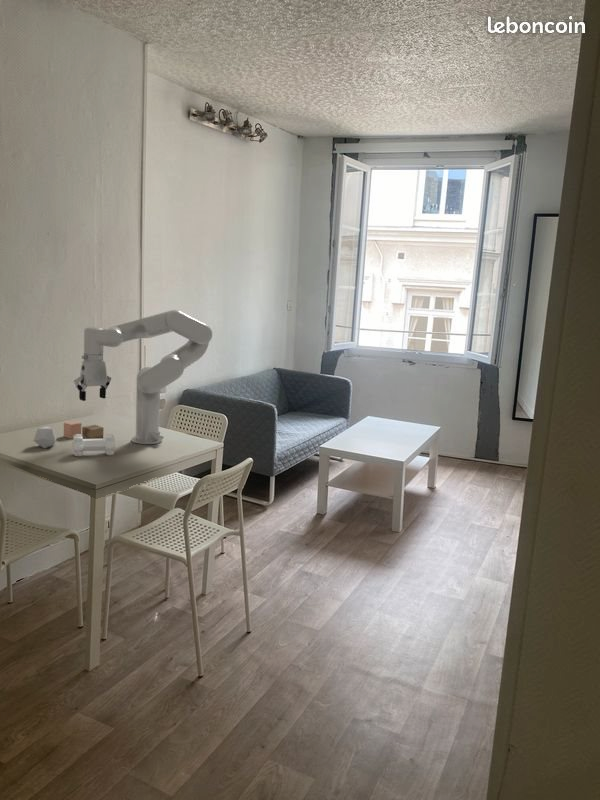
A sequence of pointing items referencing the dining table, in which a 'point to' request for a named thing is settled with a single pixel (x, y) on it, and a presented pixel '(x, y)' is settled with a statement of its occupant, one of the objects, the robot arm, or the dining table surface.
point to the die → (45, 437)
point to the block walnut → (92, 432)
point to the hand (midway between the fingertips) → (92, 399)
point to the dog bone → (93, 444)
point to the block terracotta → (72, 428)
